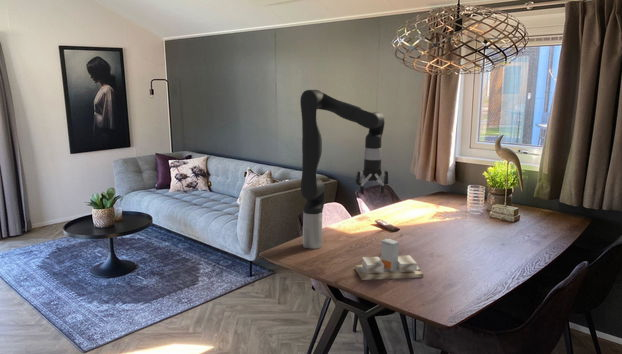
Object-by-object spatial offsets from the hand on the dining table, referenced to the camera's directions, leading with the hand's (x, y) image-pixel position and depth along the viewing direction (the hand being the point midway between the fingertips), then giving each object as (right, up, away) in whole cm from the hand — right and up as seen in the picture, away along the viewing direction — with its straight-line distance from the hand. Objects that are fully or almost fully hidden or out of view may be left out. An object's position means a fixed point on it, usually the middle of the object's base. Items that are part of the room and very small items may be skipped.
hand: (371, 193), depth 209 cm
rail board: (+6, -33, -11) cm, 35 cm away
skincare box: (+6, -31, -11) cm, 34 cm away
